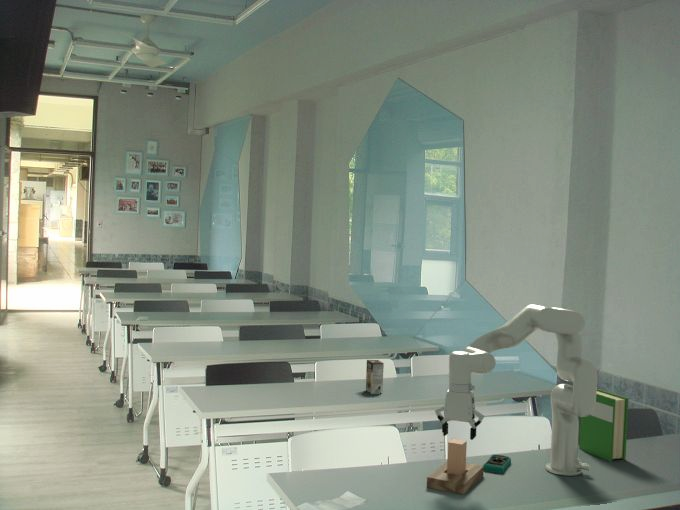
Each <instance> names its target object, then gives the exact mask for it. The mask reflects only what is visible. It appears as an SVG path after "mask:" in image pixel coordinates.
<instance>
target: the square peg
mask: <svg viewBox="0 0 680 510" xmlns="http://www.w3.org/2000/svg"><path fill="white" fill-rule="evenodd" d="M467 443H468V442H467V440H464V439H457V438H451V440H449V441H448V442H447V460H446V462H447V473H448V474H454V475H459V476H463V475H465V471H466V463H467V445H468V444H467Z"/></svg>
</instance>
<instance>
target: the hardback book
mask: <svg viewBox="0 0 680 510" xmlns="http://www.w3.org/2000/svg"><path fill="white" fill-rule="evenodd" d="M629 399H630V398H629V397H625V396H623V395H619V394H615V393H612V392H609V391H605V390H604V389H599V388H597V393H596V404H595V408H594V410H593V412H592V413H591V414H590V415H589V416H586V417H580V419H579V440H578V450H582V451H585V452H587V453H589V454H592V455H594V456H595V457H599V458H600V459H604V460H606V461H608V462H609V463H610V462H613V460H615V459H620V460H622V461H626V457H627V437H628V419H629V418H628V417H629Z"/></svg>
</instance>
